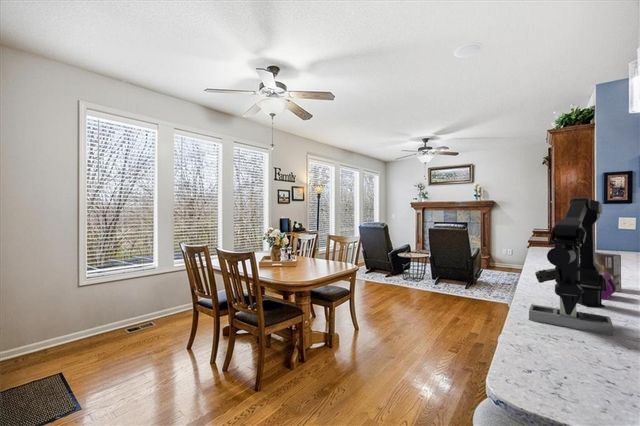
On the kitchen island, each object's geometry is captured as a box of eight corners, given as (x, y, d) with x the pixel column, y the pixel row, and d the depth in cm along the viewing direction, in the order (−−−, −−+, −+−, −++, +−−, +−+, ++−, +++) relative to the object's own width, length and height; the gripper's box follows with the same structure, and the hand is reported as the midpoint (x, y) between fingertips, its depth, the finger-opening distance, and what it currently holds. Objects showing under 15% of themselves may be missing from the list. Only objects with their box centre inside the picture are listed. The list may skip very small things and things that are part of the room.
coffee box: (622, 290, 131) (622, 254, 131) (614, 292, 129) (614, 255, 129) (596, 285, 140) (596, 252, 140) (588, 287, 138) (588, 252, 137)
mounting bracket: (564, 306, 129) (615, 297, 116) (553, 287, 132) (603, 276, 119) (570, 301, 135) (620, 292, 122) (560, 283, 138) (608, 273, 125)
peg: (560, 319, 98) (559, 295, 98) (575, 322, 96) (575, 298, 96) (559, 323, 95) (559, 298, 95) (576, 326, 93) (576, 301, 93)
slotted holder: (609, 326, 92) (609, 316, 92) (613, 335, 86) (613, 325, 85) (531, 312, 105) (531, 304, 105) (528, 319, 98) (528, 310, 98)
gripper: (538, 256, 108) (539, 299, 108) (534, 264, 93) (534, 313, 93) (579, 259, 100) (579, 305, 101) (581, 268, 86) (581, 321, 86)
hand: (568, 310), depth 95 cm, fingers open, 9 cm apart
